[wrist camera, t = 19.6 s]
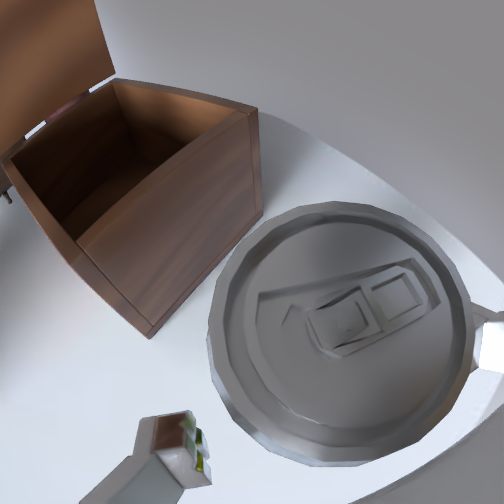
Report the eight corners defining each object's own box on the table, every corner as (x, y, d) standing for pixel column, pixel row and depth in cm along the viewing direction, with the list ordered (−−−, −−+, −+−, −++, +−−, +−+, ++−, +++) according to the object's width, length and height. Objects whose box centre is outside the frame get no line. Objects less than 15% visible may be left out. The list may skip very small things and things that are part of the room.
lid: (77, -77, 6) (55, -55, 8) (-71, -3, 2) (-67, 12, 4) (116, 73, 19) (92, 73, 21) (-2, 159, 14) (-8, 147, 16)
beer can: (323, 333, 16) (393, 172, 6) (360, 415, 14) (518, 369, 4) (234, 365, 16) (166, 238, 6) (267, 454, 13) (258, 525, 3)
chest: (263, 215, 21) (258, 107, 14) (149, 340, 17) (69, 265, 9) (142, 154, 27) (115, 77, 20) (52, 233, 22) (0, 162, 15)
